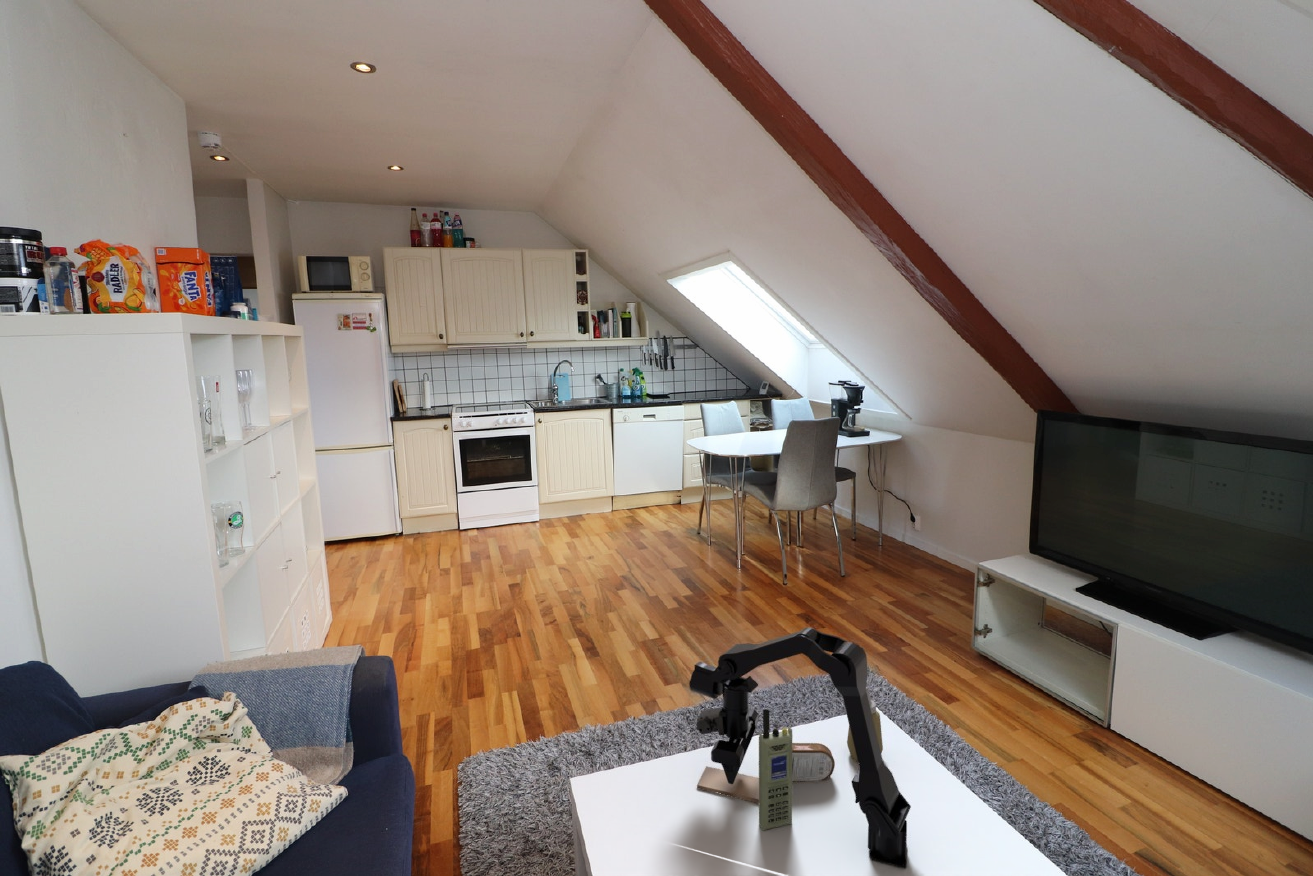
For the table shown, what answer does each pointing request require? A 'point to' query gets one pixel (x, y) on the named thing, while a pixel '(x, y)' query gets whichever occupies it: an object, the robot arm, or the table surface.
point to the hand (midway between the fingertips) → (736, 770)
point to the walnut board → (740, 788)
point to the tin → (811, 762)
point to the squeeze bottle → (876, 723)
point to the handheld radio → (775, 776)
